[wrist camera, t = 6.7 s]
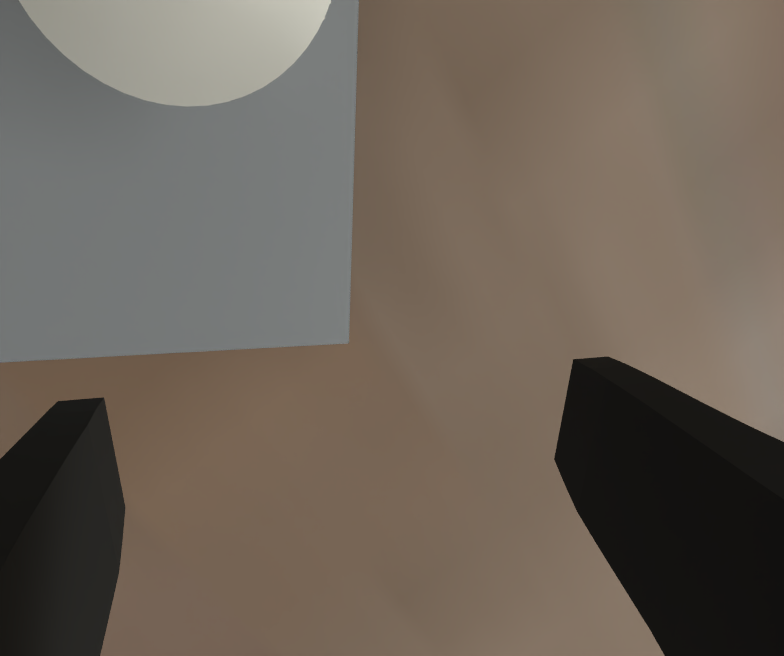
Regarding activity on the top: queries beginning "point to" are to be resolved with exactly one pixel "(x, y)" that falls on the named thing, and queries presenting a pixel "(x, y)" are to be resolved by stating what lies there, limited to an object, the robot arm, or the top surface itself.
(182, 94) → the cap
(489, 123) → the top surface
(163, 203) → the board
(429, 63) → the top surface
